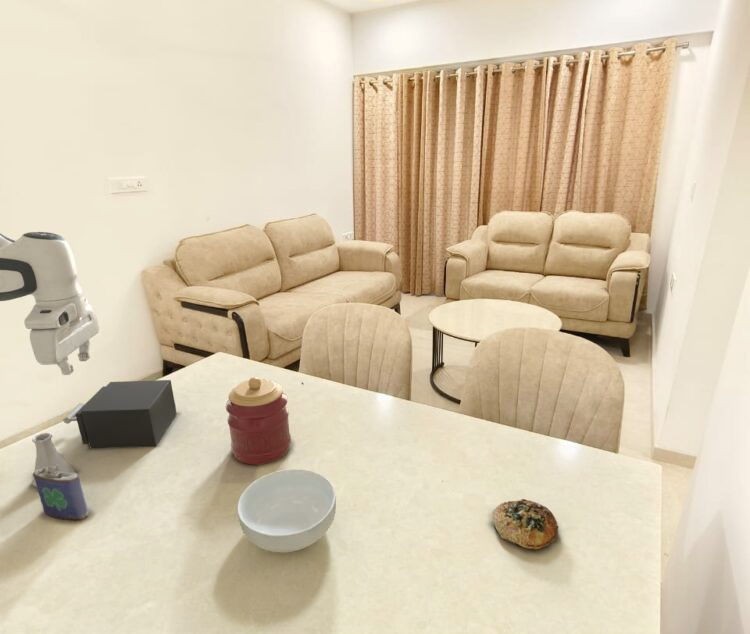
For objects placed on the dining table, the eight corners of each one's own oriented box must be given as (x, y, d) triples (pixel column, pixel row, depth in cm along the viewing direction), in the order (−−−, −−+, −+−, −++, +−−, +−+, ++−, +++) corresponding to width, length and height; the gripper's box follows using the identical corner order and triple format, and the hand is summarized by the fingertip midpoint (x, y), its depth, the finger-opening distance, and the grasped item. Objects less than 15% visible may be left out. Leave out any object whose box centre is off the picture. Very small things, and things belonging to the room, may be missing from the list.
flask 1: (24, 487, 100) (10, 444, 96) (54, 466, 106) (42, 425, 103) (54, 492, 98) (41, 449, 95) (82, 470, 105) (71, 429, 101)
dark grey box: (90, 448, 112) (80, 411, 109) (118, 416, 126) (110, 381, 122) (156, 446, 113) (148, 409, 110) (176, 413, 127) (170, 379, 123)
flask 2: (92, 513, 93) (79, 464, 89) (80, 524, 90) (65, 474, 86) (52, 505, 95) (37, 457, 91) (39, 515, 92) (22, 467, 88)
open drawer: (60, 445, 112) (51, 414, 109) (89, 415, 125) (81, 387, 122) (144, 441, 113) (137, 411, 110) (164, 412, 126) (158, 384, 123)
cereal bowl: (237, 510, 93) (232, 479, 90) (324, 491, 98) (322, 460, 95) (246, 581, 78) (241, 545, 75) (349, 553, 83) (347, 519, 80)
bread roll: (557, 511, 91) (559, 491, 89) (557, 563, 82) (559, 542, 79) (494, 501, 94) (495, 482, 92) (488, 550, 85) (488, 529, 83)
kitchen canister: (275, 427, 120) (268, 360, 114) (302, 451, 110) (296, 379, 104) (222, 446, 113) (212, 375, 106) (247, 474, 103) (237, 398, 97)
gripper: (71, 295, 117) (85, 349, 122) (18, 324, 98) (36, 387, 103) (99, 294, 118) (111, 348, 123) (51, 323, 98) (67, 386, 104)
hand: (76, 366), depth 113 cm, fingers open, 6 cm apart
